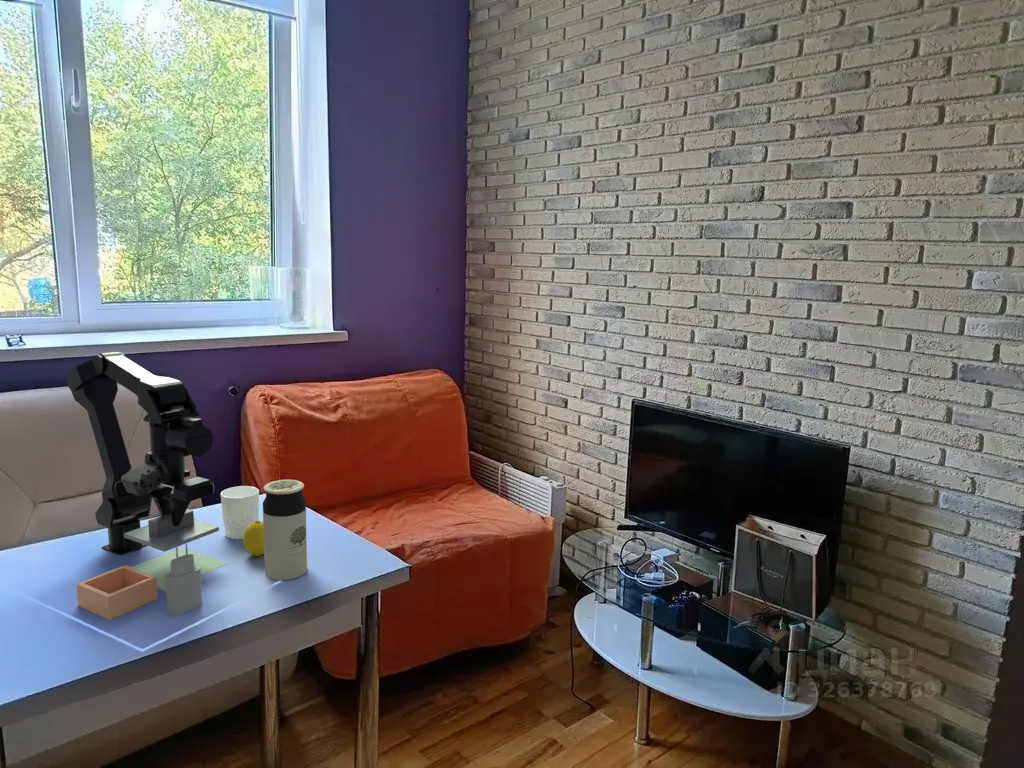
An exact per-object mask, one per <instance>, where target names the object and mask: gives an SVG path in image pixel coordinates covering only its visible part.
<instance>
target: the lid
mask: <svg viewBox="0 0 1024 768" xmlns="http://www.w3.org/2000/svg"><path fill="white" fill-rule="evenodd" d="M194 514H195V513H194V510H192V509H189V508H187V510H186V512H185V514H184V516H183V519H182V521H181V523H180V525H178V526H174V525H173V521H172V516H171V513H169V514H166V515H163V516H161V515H160V516H158V517H155V518H153V519H148V521H147V522H148V525H144V526H142V527H141V526H140V528H138V529H135V530H132V531H129V532H127V533H124V537H125V538H127V539H130V540H133V541H136V542H139V543H141V544H144V545H147V546H148V547H151V548H153V549H156V550H159V551H161V552H164V553H165V552H167V551H170V550H173V549H176V548H178V547H181V546H183V545H186V544H188V543H191V542H193V541H195V540H200V539H201V538H204V537H207V536H209V535H211V534H215V533H217V532H219V531H220V527H219V526H217V525H214V524H211V523H207V522H205V521H201V520H197V519H195V518H194V517H195V515H194ZM147 546H146V547H147Z"/></svg>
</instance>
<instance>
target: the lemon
mask: <svg viewBox="0 0 1024 768" xmlns="http://www.w3.org/2000/svg"><path fill="white" fill-rule="evenodd" d="M243 545H244V548H245V550H246V552H247V553H248V554H250V555H252V556H255V557H257V558H258V557H261V556H262V555H264V528H263V521H262V520H261V521H260V520H259V519H258V520H256V521H255V522H253V523H251V524H250V525H248V527H247V528H246V530H245V533H244V539H243Z"/></svg>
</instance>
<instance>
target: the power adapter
mask: <svg viewBox="0 0 1024 768" xmlns="http://www.w3.org/2000/svg"><path fill="white" fill-rule="evenodd" d="M178 549H179V548H178V547H175V550H176V558H175V559H173V560H171V562H170V565H171V572H170V573H167V574H166V575H165V582H166V591H165V596H166V599H165V600H166V613H168V614H170V615H172V616H175V617H178V616H182V615H183V614H185V613H187V612H190V611H191V610H194V609H197V608H199V607H201V606H202V605H203V595H202V575H201V571H200V567H197V566H195V565H194V554H188V550H189V549H188V543H186V544H185V549H186V555H183V556H181V557H178Z"/></svg>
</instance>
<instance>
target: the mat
mask: <svg viewBox="0 0 1024 768" xmlns="http://www.w3.org/2000/svg"><path fill="white" fill-rule="evenodd" d="M188 554H194V565H195V566H197V567H200V571H201V576H202V575H205V574H207V573H209V572H212V571H214V570H216V569H218V568H221V567H223V566H225V565H228V564H229V563H228V562H225V561H222V560H220V559H217V558H214V557H210V556H208V555H206V554H202V553H198V552H197V551H193V550H191V549H188ZM183 555H186V547H180V548H178V557H181V556H183ZM175 558H176V549H174V550H172V551H170V552H167V553H164V554H161V555H159V556H157V557H154V558H151V559H148V560H146V561H143V562H140V563H139V564H136V565H133V566H131V567H132V568H134V569H137V570H139V571H142V572H145V573H147V574H150V575H152V576H155V577H157V589H159V590H162V591H164V592H166V582H165V575H166V574H167V573H170V572H171V565H170V562H171V560H173V559H175Z"/></svg>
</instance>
